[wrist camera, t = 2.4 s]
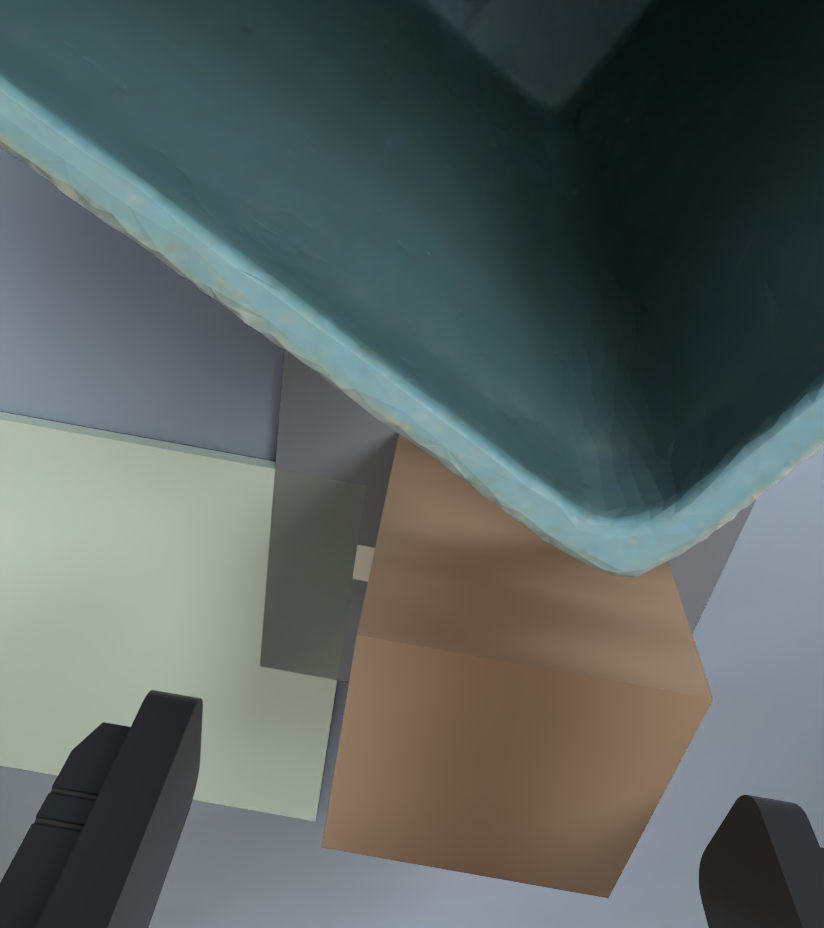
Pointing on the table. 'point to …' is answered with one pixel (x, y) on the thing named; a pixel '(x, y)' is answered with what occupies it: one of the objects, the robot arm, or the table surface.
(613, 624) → the walnut block
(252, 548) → the coaster
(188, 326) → the table surface
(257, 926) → the table surface
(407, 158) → the flower pot
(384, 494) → the tile
